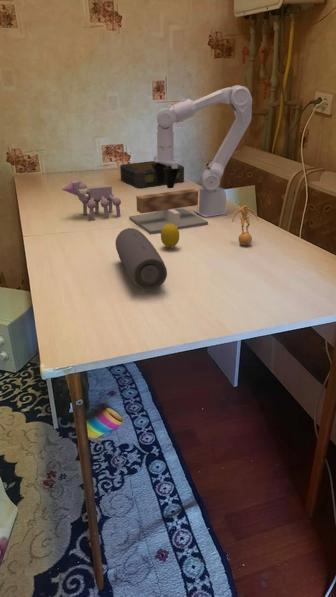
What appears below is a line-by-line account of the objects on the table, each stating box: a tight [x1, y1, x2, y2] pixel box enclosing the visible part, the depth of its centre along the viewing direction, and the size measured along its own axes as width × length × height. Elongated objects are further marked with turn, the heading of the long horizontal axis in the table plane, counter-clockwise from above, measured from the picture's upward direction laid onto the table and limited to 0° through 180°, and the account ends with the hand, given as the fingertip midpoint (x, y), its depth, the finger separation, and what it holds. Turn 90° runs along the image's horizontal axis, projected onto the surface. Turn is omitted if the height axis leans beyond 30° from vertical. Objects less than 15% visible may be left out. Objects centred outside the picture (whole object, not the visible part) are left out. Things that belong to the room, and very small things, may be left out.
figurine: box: [231, 204, 259, 247], centre depth 132 cm, size 8×6×12 cm
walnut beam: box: [136, 188, 199, 214], centre depth 151 cm, size 22×4×5 cm, turn 117°
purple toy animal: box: [61, 179, 122, 221], centre depth 157 cm, size 20×11×14 cm, turn 114°
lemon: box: [160, 223, 180, 249], centre depth 130 cm, size 6×6×8 cm
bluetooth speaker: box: [115, 227, 168, 291], centre depth 112 cm, size 23×9×10 cm, turn 17°
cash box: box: [119, 160, 185, 189], centre depth 208 cm, size 25×20×8 cm
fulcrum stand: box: [128, 208, 209, 235], centre depth 153 cm, size 22×18×5 cm
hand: (165, 185), depth 158 cm, fingers open, 7 cm apart
